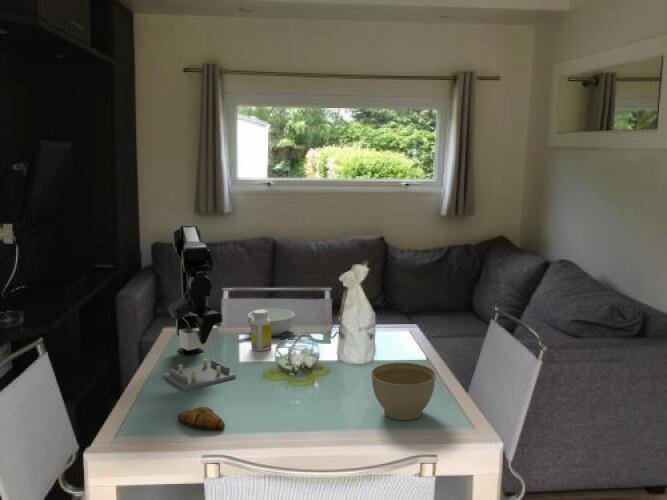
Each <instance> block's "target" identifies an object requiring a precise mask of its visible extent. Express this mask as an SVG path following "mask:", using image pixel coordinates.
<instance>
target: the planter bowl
mask: <svg viewBox="0 0 667 500" xmlns="http://www.w3.org/2000/svg"><path fill="white" fill-rule="evenodd" d="M370 372H371V379H372V380H371V382H372V389H373V393H374V395H375V397H376V400H377V401H378V403H379V405H380V406H381V407H382V409H383V412H384V414H385V416H387V417H388V418H390V419H394V420H395V421H396V420H398V421H413V420H416V419H418V418H420V417H421V416H422V415H423V410H424V409H425V408H426V407H427V405H428V404H429V403H430V400H431V399H432V396H433V393H434V390H435V382H436V378H437V375H436V374H437V373H436V372H435V370H434V369H432V368H431V367H428V366H427V365H423V364H420V363H414V362H407V361H405V362H398V361H397V362H389V363H388V362H387V363H383V364H380V365H377V366H375V367H374V368H373V369H372V370H371V371H370Z"/></svg>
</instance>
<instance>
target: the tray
mask: <svg viewBox="0 0 667 500" xmlns="http://www.w3.org/2000/svg"><path fill="white" fill-rule="evenodd" d="M177 368H178V370H176V369H173V368H169V370H168V371H169V372H165V373H163V377H164V378H165V379H166V380H168V381H170V382H171V383H173V384H174V385H176V386H178V387H179V388H180V389H182V390H184V391H185V392H186V391H190V390H194V389H197V388H201V387H206V386H209V385H214V384H217V383H220V382H224V381H228V380H233V379H236V378H237V377H236V373H234V372H232V371H230V370H231V369H230V367H229V366H227V365H225V364H223V362H222V363H221V362H220V361H218V360H216V359H214V358H212V359H211V358H210V362H208V359H207V358H203V360H202V364H198V365H196V366H190V367H188V368H187V367H186V368H184V366H183V364H178V367H177Z"/></svg>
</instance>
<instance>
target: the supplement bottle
mask: <svg viewBox="0 0 667 500" xmlns="http://www.w3.org/2000/svg"><path fill="white" fill-rule="evenodd" d="M253 311H254V312H253V315H254V318H253V319H252V320H251V327H250V339H251V341H250V342H251V349H252V350H253V351H256V352H257V351H258V352H263V351H264V352H266V351H269V350H271V348H272V336H271V321H270V319H269V318H267V315H268V311H266V310H260V309H256V311H255V310H253Z"/></svg>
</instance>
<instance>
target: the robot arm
mask: <svg viewBox="0 0 667 500" xmlns="http://www.w3.org/2000/svg"><path fill="white" fill-rule="evenodd" d="M172 247H173V248H174V249H175V250H174V251H175V253H176V255H177V256H178V258H179V260H180V272H181V274H180V275H181V296H182V298H181V299H179V300H177V301H175V302H174V303H171V304H169V305H168V306H167V310H168V312H169V314H170V318H174V319H175V320H176V321H175V322H176V323H175V331H176V332H175V333H176V336H177V337H179V330H180V329H185V328H190V327H195V326H198V327H199V333H200V340H201V344H205V343H206V341H207V338H208V336H209V334H210V332H211V330H212V328H213V326H215V325H216V324H220V323H221V324H222V323H223V314H221V313H220V312H219V311H216V310H211V306H210V305H208V297H211V292H212V291H211V290H212V286H213V285H212V282H211V280H210V279H209V277H208V275H207V272H212V271H213V268H214V263H213V256H212V253H211V251H210V249H208V247H207V245H206V244H205V243H203V242H202V237H201V231H200V229H198V228H197V225H195V224H182V225H179V228H178V229H176V230H174V231H173V234H172ZM177 352H179V353H180V354H183V355H185V356H189V355H194V354H198V353H203V352H204V349H203V348H202V347H201V348H197V349H192V350H186V349H184V348H182V347H180V348H178V349H177Z"/></svg>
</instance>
